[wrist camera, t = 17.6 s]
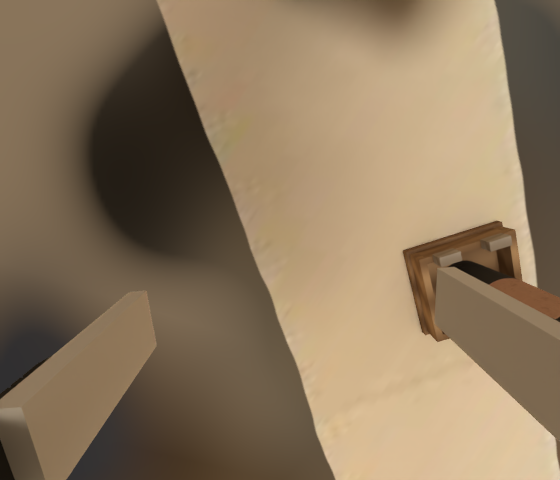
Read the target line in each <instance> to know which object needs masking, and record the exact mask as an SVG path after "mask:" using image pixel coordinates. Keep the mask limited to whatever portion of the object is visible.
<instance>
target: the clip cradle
mask: <svg viewBox="0 0 560 480" xmlns="http://www.w3.org/2000/svg"><path fill="white" fill-rule="evenodd" d="M403 253H404V257H405V261H406V265H407V270H408V274H409V278H410V282H411V286H412V291H413V295H414V299H415V303H416V307H417V311H418V316H419V320H420V324H421V328H422V332H423V333H424V334H425V335H427V334H431V336H432V337H433V338H434V339H435V340H436V341H437V342H439V341H442V340H446V339H449V337H448V336H447V335H446V334H445V333H444V332H443V331H442V330H441V329H440V328H439V327H438V326H436V325H435V324H434V322H435V302H436V283H437V268H446V267H449V266H450V265H452V264H453V263H457V262H460V261H472V262H475V263H478V264H480V265H483V266H485V267H488V268H490V269H493V270H495V271H498V272H501V273H503V274H506V275H508V276H511V277H513V278H516V279H518V280H521V281H522V274H521V267H520V260H519V253H518V246H517V239H516V232H515V230H514V229H509V228H505V227H503V225H502V222H500V221H495V222H492V223H489V224H486V225H482V226H479V227H476V228H473V229H470V230H467V231H463V232H460V233H457V234H454V235H451V236H448V237H444V238H441V239H438V240H435V241H432V242H429V243H425V244H422V245H419V246H416V247H413V248H410V249H407V250H403Z"/></svg>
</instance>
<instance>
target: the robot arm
mask: <svg viewBox="0 0 560 480" xmlns="http://www.w3.org/2000/svg"><path fill="white" fill-rule="evenodd" d="M434 324H435V325H436V326H438V327H439V328H440V329H441V330H442V331H443V332H444V333H445V334H446V335H447V336H448V337H449V338H450V339H451V340H452V341H453V342H455V343H456V344H457V345H458V346H459V347H460V348H461V349H462V350H463V351H464V352H465V353H466V354H467V355H468V356H469V357H470V358H471V359H473V360H474V361H475V362H476V363H477V364H478V365H479V366H480V367H481V368H482V369H483V370H484V371H485V372H486V373H487V374H488V375H489V376H491V377H492V378H493V379H494V380H495V381H496V382H497V383H498V384H499V385H500V386H501V387H502V388H503V389H504V390H505V391H506V392H508V393H509V394H510V395H511V396H512V397H513V398H514V399H515V400H516V401H517V402H518V403H519V404H520V405H521V406H522V407H523V408H524V409H526V410H527V411H528V412H529V413H530V414H531V415H532V416H533V417H534V418H535V419H536V420H537V421H538V422H539V423H540V424H541V425H542V426H544V427H545V428H546V429H547V430H548V431H549V432H550V433H551V434H552V435H553V436H554V437H555V438H556V439H557V440H558V441H559V442H560V320H557V319H554V318H551V317H549V316H547V315H545V314H543V313H541V312H539V311H537V310H535V309H534V308H532V307H530V306H528V305H526V304H524V303H522V302H520V301H518V300H516V299H514V298H513V297H511V296H509V295H507V294H505V293H503V292H501V291H499V290H497V289H495V288H494V287H492V286H490V285H488V284H486V283H484V282H482V281H480V280H478V279H476V278H475V277H473V276H471V275H469V274H467V273H465V272H463V271H461V270H459V269H457V268H455V267H446V268H437V283H436V302H435V322H434ZM156 346H157V344H156V338H155V334H154V328H153V323H152V318H151V312H150V307H149V303H148V297H147V292H146V291H136V292H129V293H128V294H126V295H125V296H124V297H123V298H121V299H120V300H119V301H118V302H117V303H115V304H114V305H113V306H112V307H111V308H109V309H108V310H107V311H106V312H105V313H104V314H102V315H101V316H100V317H99V318H97V319H96V320H95V321H94V322H93V323H91V324H90V325H89V326H88V327H87V328H85V329H84V330H83V331H82V332H81V333H79V334H78V335H77V336H76V337H75V338H74V339H72V340H71V341H70V342H68V343H67V344H66V345H65V346H64V347H63V348H61V349H60V350H59V351H58V352H56V353H55V354H54V355H52V356H51V357H49V358H47V359H45V360H43V361H42V362H40V363H38V364H37V365H35V366H34V367H33V368H32V369H31V370H29V371H28V372H27V373H26V374H24V375H23V378H19V379H18V380H17V381H16V382H14V383H13V384H12V385H11V387H10V388H7V389H6V390H5V391H3V392H2V393H1V394H0V480H66V479H67V478H68V476H69V475H70V473H71V472H72V470H73V469H74V467H75V466H76V464H77V463H78V461H79V460H80V458H81V457H82V455H83V454H84V452H85V451H86V449H87V448H88V446H89V445H90V443H91V442H92V440H93V439H94V437H95V436H96V435H97V433H98V432H99V430H100V429H101V427H102V426H103V424H104V423H105V421H106V420H107V418H108V417H109V415H110V414H111V412H112V411H113V409H114V408H115V406H116V405H117V403H118V402H119V400H120V399H121V397H122V396H123V394H124V393H125V392H126V390H127V389H128V387H129V386H130V384H131V383H132V381H133V380H134V378H135V377H136V375H137V374H138V372H139V371H140V369H141V368H142V366H143V365H144V363H145V362H146V361H147V359H148V357H149V356H150V355H151V353H152V351H153V350H154V349H155V347H156Z"/></svg>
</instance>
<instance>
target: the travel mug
mask: <svg viewBox="0 0 560 480" xmlns="http://www.w3.org/2000/svg"><path fill="white" fill-rule="evenodd" d="M449 267H455V268H457V269H459V270H461V271H463V272H465V273H467V274H469V275H471V276H473V277H475V278H476V279H478V280H480V281H482V282H484V283H486V284H488V285H490V286H492V287H494V288H495V289H497V290H499V291H501V292H503V293H505V294H507V295H509V296H511V297H513V298H514V299H516V300H518V301H520V302H522V303H524V304H526V305H528V306H530V307H532V308H534V309H535V310H537V311H539V312H541V313H543V314H545V315H547V316H549V317H551V318H554V319H557V320H560V298H559V297H556V296H554V295H552V294H550V293H548V292H545V291H543V290H541V289H539V288H536V287H534V286H532V285H530V284H527V283H525V282H523V281H521V280H518V279H516V278H513V277H511V276H508V275H506V274H503V273H501V272H498V271H495V270H493V269H490V268H488V267H485V266H483V265H480V264H478V263H475V262H472V261H460V262H457V263H453V264H452V265H450V266H449Z"/></svg>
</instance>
